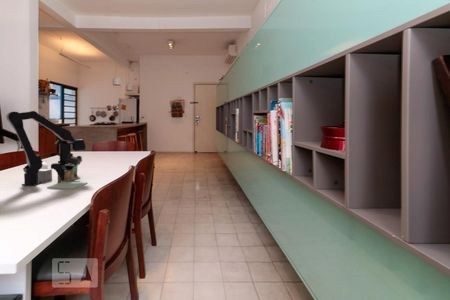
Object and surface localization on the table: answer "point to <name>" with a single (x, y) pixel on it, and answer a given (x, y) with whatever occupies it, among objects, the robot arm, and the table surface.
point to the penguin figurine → (44, 165)
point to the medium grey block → (45, 175)
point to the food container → (75, 170)
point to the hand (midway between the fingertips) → (65, 179)
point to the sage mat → (67, 185)
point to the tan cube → (67, 176)
